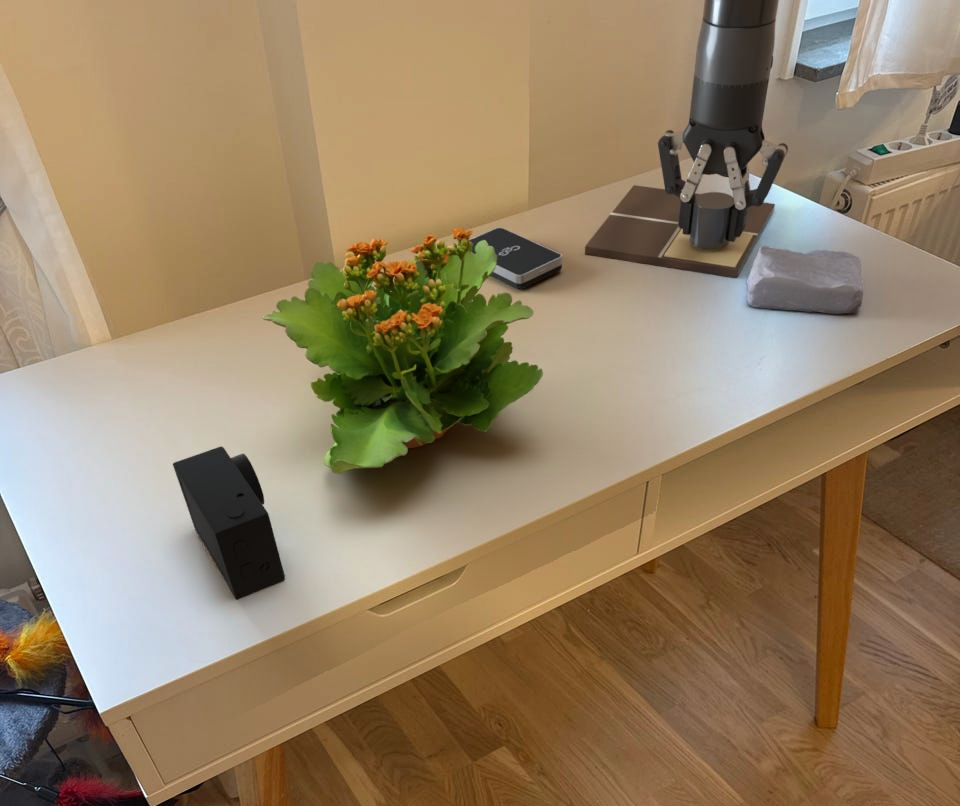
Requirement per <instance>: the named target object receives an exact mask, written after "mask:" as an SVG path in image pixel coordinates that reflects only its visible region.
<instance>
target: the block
mask: <svg viewBox="0 0 960 806" xmlns="http://www.w3.org/2000/svg"><path fill="white" fill-rule="evenodd" d="M756 253H757V254H756V256H755V258H754V261H753V264H752V267H751V269H750V272H749V274H748V276H747V280H746V286H747V293H746V301H747V304H748V305H749V306H750V307H752V308H757V309H759V308H760V309H768V310H769V309H771V310H784V311H797V312H808V313H810V312H818V313H823V314H831V315H841V314H855V313H856V312H857V311H858V310H859V309H860V308H861V307H862V304H863V299H864V298H863V297H864V283H863V277H862V260H861V258H860V257H859V256H856V255H854V253H849V252H846V251H833V250H827V249H826V250H824V249H816V250H811V251H808V252H800V251H794V250H793V251H792V250H789V249H784V248H777V247H770V246H766V245H764V246H763V245H761V246H760V247H759V248H758V251H757V252H756Z"/></svg>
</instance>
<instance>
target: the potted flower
mask: <svg viewBox="0 0 960 806" xmlns="http://www.w3.org/2000/svg"><path fill="white" fill-rule="evenodd" d="M473 233H474V231H473V230H472V229H469V230H466V229H465V227H461V228H459V227H454V229H453V230H452V234H451V236H452V237H453V238H452V239H453V240H457V243H455V242H453V244H449V245H446V242H445V240H444V239H443V238H440V239H439V240H438V239H437V238H436V237H435V235H434V234H429V235H427V236H426V237H424V239H423V240H422V242H421V243H422V244H419V245H415V246H413V248H412V249H410V250H409V252H410V253H412V254H416V255H414V256H413V260H409V259H408V260H401V261H393V260H392V261H389V262H388V261H387V260H384V259H385V258H386V256H387V248H386V246H387V245H388V244H389V241H387V240H385V239H380V238H379V239H376V238H372V240H371V241H370V242H369V243H368V242H367V241H366V242H362V241H358V242H356V243H355V244H352V245H351V247H349V248H347V249H346V254H344V257H345V261H344V265H343V269H342V271H341V270H340V268H339V267H338V266H336V264H335V263H333V262H332V261H326V262H324V261H315V263H313V265H312V268H311V270H310V271H309V273H310V274H309V275H310V276H311V278H312V279H309V280H307V286H308V287H307V288H306V289H305V291H304V299H301V298H299V297H298V296H294V295H293V296H292V297H291V299H290V300H288V299H285V298H284V299H281V300H278V301H277V302H276V305H275V307H276V309H277V310H278V311H276V310H272V311H271V312H270V313H268V314H265V315H264V316H262V319H263V320H264V321H266V322H267V321H268V322H272V323H273V324H275V325H277V326H280V327H282V328H285V329H284V332H285V334H286V336H287V337H288V338H289V339H290V340H291V341H293V342H294V343H295V345H296V346H297V347H298V348H300V349H306V350H305V353H304V355H305V358H306V359H307V360H308V361H309V362H310V363H312V364H313V365H317V366H318V367H319V368H325V367H327V366H328V368H329V369H330V370H331V371H333V373H325V374H324V375H323V378H324V380H323V379H321V378H320V377H318V378H317V379H316V381H312V382H311V383H310V387H311V389H312V391H313V394H315V395H316V398H317V399H318V400H321V401H322V402H324V403H328V402H332V404H333V406H335V407H336V408H338V409H339V410H337V412H336V413H335V414H333V413H331V414H330V417H331V419H332V421H333V423H334V424H335V425H334V424H332V423H331V424H330V433H331V437H332V439H333V441H334V443H333V445H332V446H331V447H330V449H329V450H328V452H327V453H326V454H325V456H324V458H323V464H324V466H325V467H327V468H330V469H331V471H332V473H334V474H336V475H339V474H342V473H344V472H346V471H349V470H352V469H372V468H373V469H374V468H375V469H377V468H383V467H384V465H385V464H389V463H391V462H392V461H393V460H394V459H396V458H399V457H400V456H406V455H407V454H408V450H409V449H413V448H418V447H422V446H424V445H426V444H431V443H433V442H434V441H435V440H438V439H440V438H442V437H443V436H444V435H445V433H446V432H447V431H449V430H450V429H451V427H453V426H454V425H456V424H457V423H459V424H460V425H462V426H470V425H471V426H472V428H473V429H475V430H478V432H484V433H485V432H488V431H489V430H490V427H491V426H492V424H493V422H494V420H496V419H497V418H498V416H499V415H500V413H501V411H503V410H504V409H506V408H507V407H508V406H509V405H510V404H513V403H515V402H517V401H518V400H520V399H521V398H523V397H524V396H525V395H527V394H529V393H530V392H531V391H532V390H533V389H534V388H535V387H536V386H537V385H538V384H539V383H540V381H541V379H542V378H543V376H544V372H543V371H544V370H543V368H539V366H538V364H530V363H529V362H527V361H525V362H521V363H520V364H519V361H518V360H516V359H514V360H511V361H509V360H510V358H511V355H512V353H513V349H514V348H513V346H512V345H513V343H512V342H511V341H506V342H505V338H504V337H503V335H505V333H506V332H507V331H508V329H509V326H508V325H509V324H512V323H514V322H517V321H521V320H528V319H530V318H532V317H533V316H534V309H533V308H532V307H530V306H529V305H526V304H525V305H524V304H523V303H522V300H519V299H518V300H516V301H515V302H514V303H512V302H513V297H512V294H511V293H510V292H508V291H507V292H506V291H505V292H502V293H497V295H496V294H492V295H491V296H490V297H489V300H488V301H487V299H486V296H484V295H483V294H482V293H478V292H479V291H480V289H481V288H482V285H483V284H484V282H486V281H487V279H488V278H489V277H490V276H491V274H492V272H493V271H494V270H495V267H496V263H497V262H496V261H497V259H498V258H497V255H496V254H495V250H494V247H492V246H488V243H487V242H486V240H483V241H480V242H478V244H477V245H476V246H475V251H476V254H473V253H472V246H473V243H472V242H470V241H468V240H470V239H471V236H472V234H473ZM437 240H438V241H437ZM436 243H437V244H436ZM382 269H383V271H381V270H382ZM373 282H374V285H373ZM372 285H373V286H372Z"/></svg>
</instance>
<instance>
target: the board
mask: <svg viewBox="0 0 960 806" xmlns="http://www.w3.org/2000/svg"><path fill="white" fill-rule="evenodd" d="M703 193H704V192H701V193H696V192H695V196H698V195H700V194H703ZM775 206H776V204H775V203H770V202H765V201H764V202H763V204H762V205H761V206H750V207H748V212H747V218H746V224H745V229H744V230H743V232H742V234H741V236H740V237H737V238H736V240H735V241H734V242H731V241H730V243H729V244H728V245H727V246H725V247H723V248H719V249H702V248H698V247H696V246H694V245H692V244H691V243H690V241H689V236H690V234H689V235H685V234H683V229H680V228H679V225H678V222H679V212H680V199H679V197H678V196H676V195H674V194H668V193H667V192H666V191H665V188H657V187H651V186H644V185H643V186H642V185H637V184H636V185H635V184H634V185H633V186H632V187H631V188H630V189H629V191H627V193H626V194H625V195H624V196H623V198H622V199H621V200H620V202H619V203H617V205H616V207H615V208H614V209H613V211H612V212H610V213H609V216H607V217H606V219H605V220H604V222H603V223H602V224H601V226H599V228H598V229H597V230H596V232H595V233H594V234H593V235H592V237H591V238H590V239H589V240H588V242H587V243H586V244H585V246H584V255H589V256H595V257H601V258H608V259H614V260H620V261H621V260H622V261H625V262H634V263H639V264H645V265H651V266H652V265H653V266H659V267H665V268H671V269H677V270H684V271H689V272H694V273H695V272H696V273H701V274H708V275H714V276H721V277H727V278H733V279H737V278H738V277H739V275H740V273H741V272H742V269H743V267H744V266H745V264H746V262H747V260H748V258H749V257H750V255H751V253H752V252H753V249H754V248H755V246H756V244H757V242H758V240H759V239H760V237H761V235H762V233H763V232H764V230H765V228H766V226H767V224H768V223H769V220H770V219H771V217H772V215H773V213H774V211H775Z"/></svg>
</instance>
